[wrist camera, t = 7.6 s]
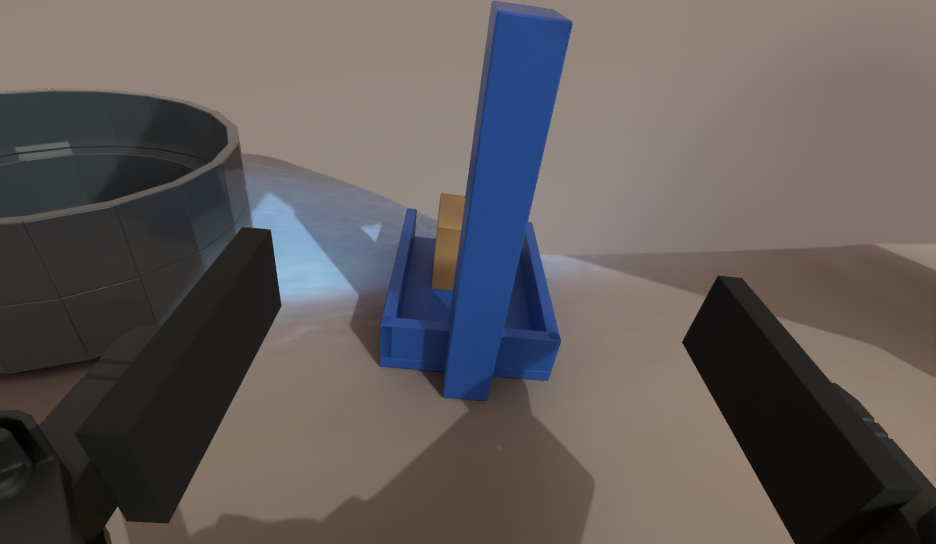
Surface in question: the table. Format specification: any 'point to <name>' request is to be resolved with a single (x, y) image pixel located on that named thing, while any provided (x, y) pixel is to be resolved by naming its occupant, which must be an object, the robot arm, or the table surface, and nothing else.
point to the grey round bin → (107, 216)
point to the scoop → (488, 228)
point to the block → (447, 241)
